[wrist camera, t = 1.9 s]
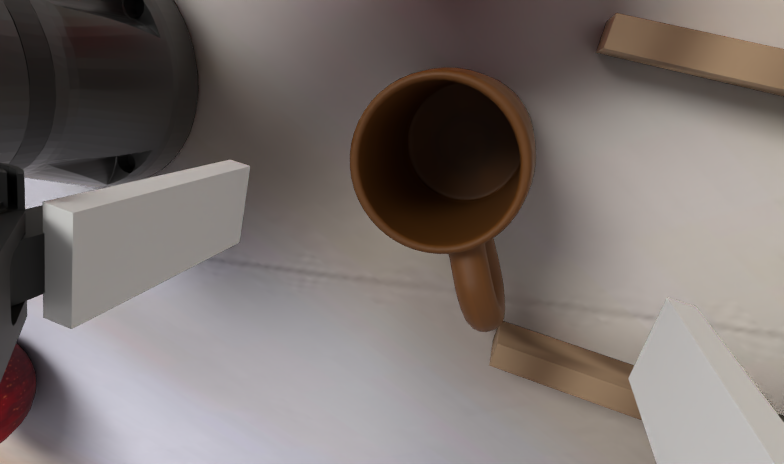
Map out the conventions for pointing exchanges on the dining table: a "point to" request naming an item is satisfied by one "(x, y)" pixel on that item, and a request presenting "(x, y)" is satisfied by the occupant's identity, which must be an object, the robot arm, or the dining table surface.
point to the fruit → (16, 391)
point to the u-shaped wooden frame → (673, 52)
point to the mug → (447, 174)
